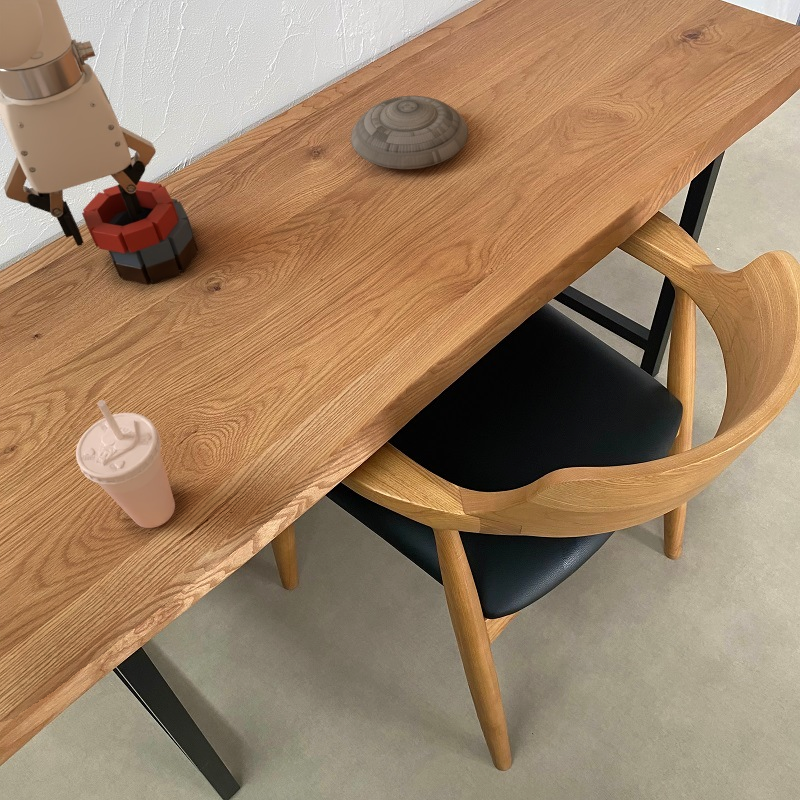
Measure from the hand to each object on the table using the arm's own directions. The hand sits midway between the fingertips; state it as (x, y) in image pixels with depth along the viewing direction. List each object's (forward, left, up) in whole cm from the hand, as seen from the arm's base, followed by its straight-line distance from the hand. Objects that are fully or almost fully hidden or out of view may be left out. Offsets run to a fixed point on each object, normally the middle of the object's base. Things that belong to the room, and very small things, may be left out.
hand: (106, 227), depth 86 cm
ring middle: (+4, 0, -3) cm, 5 cm away
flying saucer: (+39, +5, -6) cm, 40 cm away
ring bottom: (+4, 0, -6) cm, 7 cm away
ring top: (+3, 0, -1) cm, 3 cm away
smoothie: (-5, -34, -6) cm, 34 cm away
